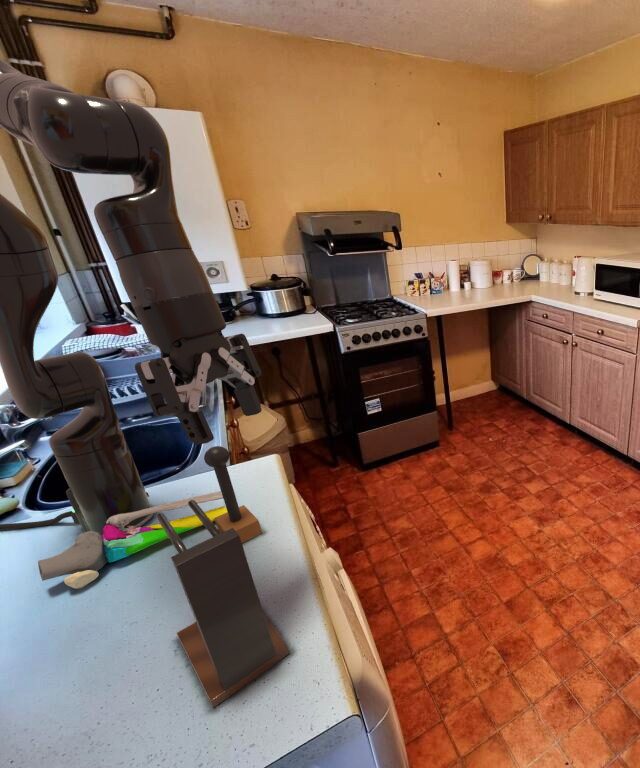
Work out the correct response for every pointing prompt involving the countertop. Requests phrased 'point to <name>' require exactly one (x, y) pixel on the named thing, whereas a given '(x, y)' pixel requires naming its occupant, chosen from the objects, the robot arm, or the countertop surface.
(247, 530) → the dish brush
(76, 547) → the knee model
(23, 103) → the robot arm
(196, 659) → the upright panel stand
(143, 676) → the countertop surface
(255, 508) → the countertop surface
